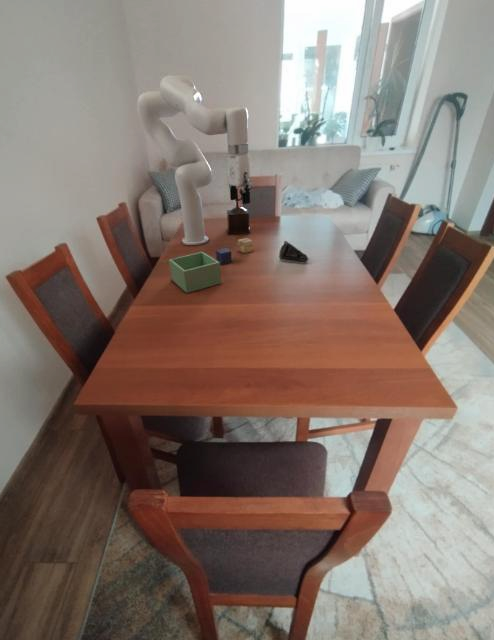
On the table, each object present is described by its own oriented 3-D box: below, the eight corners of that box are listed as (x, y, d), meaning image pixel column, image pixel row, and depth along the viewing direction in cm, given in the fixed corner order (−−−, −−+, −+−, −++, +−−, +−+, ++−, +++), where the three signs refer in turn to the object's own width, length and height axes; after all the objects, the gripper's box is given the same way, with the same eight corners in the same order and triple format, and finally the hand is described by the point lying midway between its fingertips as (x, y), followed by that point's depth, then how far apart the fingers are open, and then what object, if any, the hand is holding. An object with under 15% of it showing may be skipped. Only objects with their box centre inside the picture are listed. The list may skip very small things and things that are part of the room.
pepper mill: (251, 233, 163) (250, 193, 152) (228, 235, 163) (227, 194, 152) (247, 225, 175) (246, 187, 164) (226, 226, 175) (224, 188, 164)
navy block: (216, 261, 136) (215, 250, 133) (226, 259, 137) (225, 248, 134) (221, 264, 132) (221, 253, 130) (231, 262, 134) (231, 251, 131)
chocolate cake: (313, 259, 134) (297, 234, 133) (310, 260, 128) (292, 234, 127) (294, 273, 139) (278, 250, 138) (290, 275, 133) (273, 250, 132)
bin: (172, 280, 123) (168, 259, 118) (204, 271, 128) (202, 251, 123) (186, 293, 114) (183, 271, 109) (221, 283, 118) (219, 262, 114)
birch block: (238, 250, 145) (237, 239, 142) (246, 248, 146) (246, 237, 144) (243, 253, 142) (243, 242, 139) (252, 251, 143) (252, 240, 140)
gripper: (218, 150, 125) (221, 199, 136) (240, 152, 113) (242, 206, 123) (235, 148, 128) (237, 197, 138) (259, 150, 115) (259, 203, 126)
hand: (240, 201), depth 131 cm, fingers open, 9 cm apart
